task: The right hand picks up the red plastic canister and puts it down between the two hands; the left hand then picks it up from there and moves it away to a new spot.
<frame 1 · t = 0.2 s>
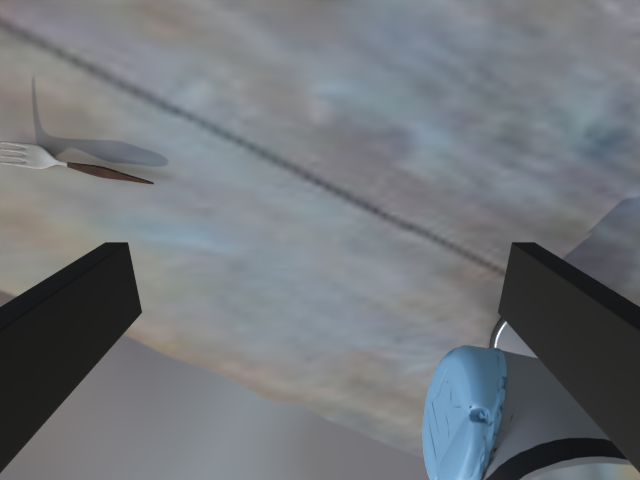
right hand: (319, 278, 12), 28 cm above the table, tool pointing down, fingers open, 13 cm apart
fork: (82, 166, 38), on the table
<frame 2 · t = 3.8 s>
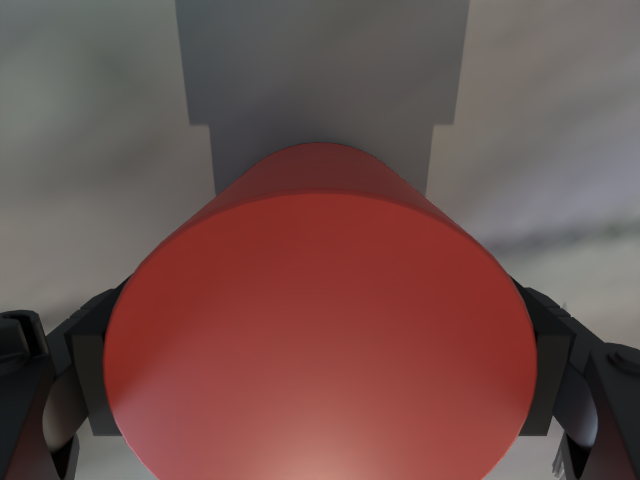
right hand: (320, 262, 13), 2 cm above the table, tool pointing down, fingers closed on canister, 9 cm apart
canister: (320, 245, 15), on the table, touching right hand
when the right hand's fingers open (3 cm above the table, at t = 14.1 s): canister stays where it is, on the table.
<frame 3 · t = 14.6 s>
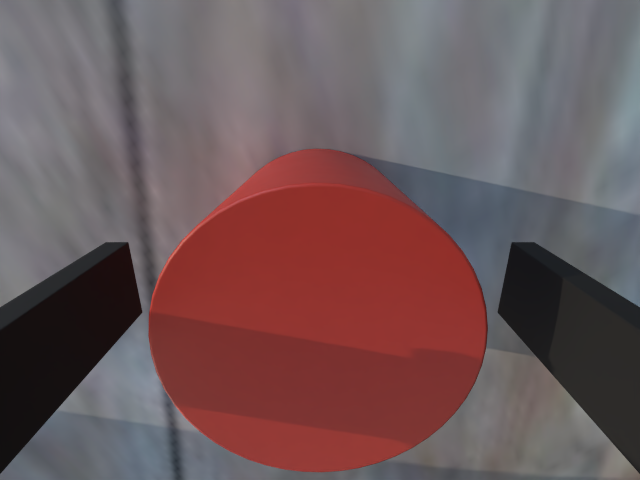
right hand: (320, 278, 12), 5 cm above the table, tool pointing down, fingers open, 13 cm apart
canister: (318, 239, 17), on the table
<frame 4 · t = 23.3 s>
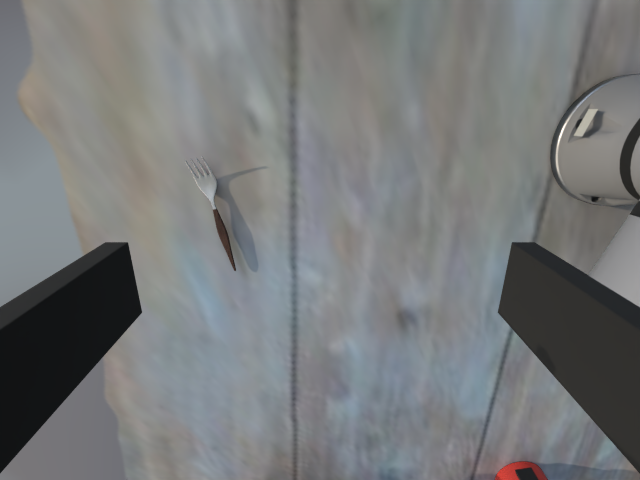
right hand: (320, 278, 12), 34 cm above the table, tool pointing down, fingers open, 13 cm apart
canister: (518, 478, 64), on the table, touching left hand
fork: (218, 215, 47), on the table
when the left hand's fingers open (3 cm above the table, at t = 33.9 s): canister stays where it is, on the table.
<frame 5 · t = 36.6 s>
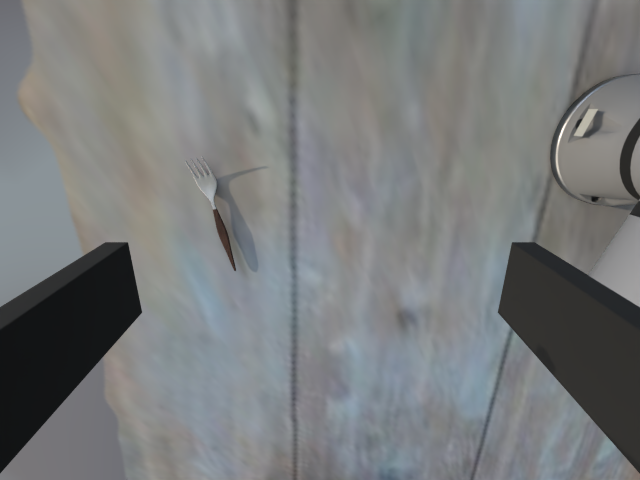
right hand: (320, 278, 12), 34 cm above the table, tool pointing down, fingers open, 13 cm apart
fork: (218, 215, 47), on the table
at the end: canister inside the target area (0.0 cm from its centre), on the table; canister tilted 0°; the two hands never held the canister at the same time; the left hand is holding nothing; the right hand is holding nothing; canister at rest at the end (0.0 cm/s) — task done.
